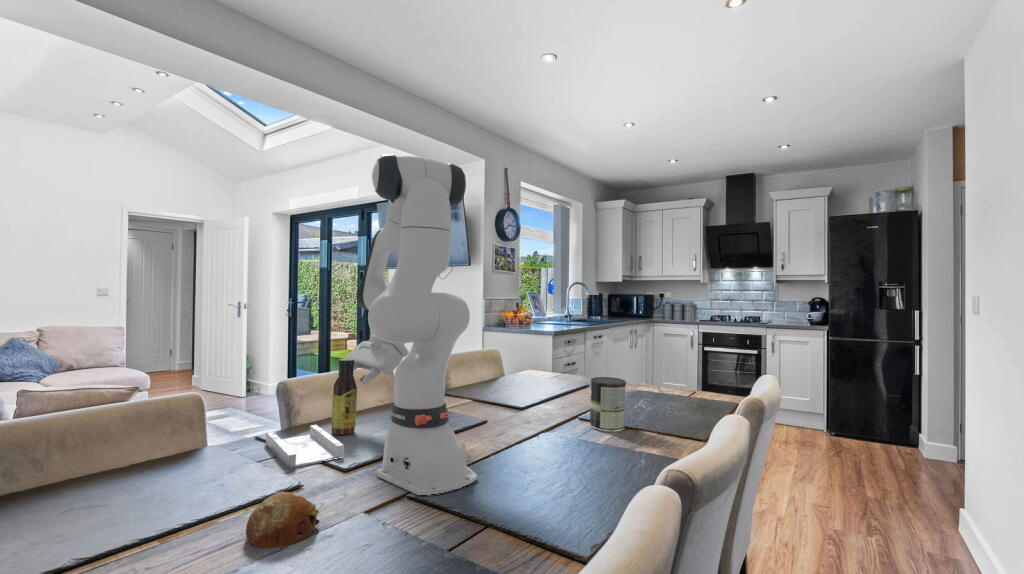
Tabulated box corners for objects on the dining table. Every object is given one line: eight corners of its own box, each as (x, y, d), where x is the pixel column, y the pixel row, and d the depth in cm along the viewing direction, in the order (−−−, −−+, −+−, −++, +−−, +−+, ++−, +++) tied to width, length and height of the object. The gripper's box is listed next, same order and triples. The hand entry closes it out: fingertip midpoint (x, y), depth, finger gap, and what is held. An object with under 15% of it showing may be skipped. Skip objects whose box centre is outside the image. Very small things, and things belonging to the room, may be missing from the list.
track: (343, 457, 110) (343, 444, 110) (288, 469, 102) (288, 455, 102) (315, 435, 125) (316, 424, 125) (265, 444, 118) (266, 432, 118)
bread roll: (274, 539, 81) (255, 496, 81) (331, 512, 82) (312, 470, 82) (247, 573, 71) (225, 525, 71) (312, 543, 72) (290, 495, 72)
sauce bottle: (347, 437, 125) (349, 361, 125) (326, 434, 127) (328, 360, 127) (360, 430, 132) (362, 358, 132) (339, 428, 133) (342, 357, 133)
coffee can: (583, 427, 140) (584, 380, 140) (598, 420, 149) (599, 375, 149) (616, 434, 134) (617, 385, 134) (630, 427, 143) (631, 380, 143)
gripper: (361, 332, 144) (329, 367, 137) (399, 338, 130) (365, 378, 123) (374, 345, 147) (343, 381, 140) (412, 353, 133) (380, 393, 126)
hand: (354, 379), depth 131 cm, fingers open, 8 cm apart
